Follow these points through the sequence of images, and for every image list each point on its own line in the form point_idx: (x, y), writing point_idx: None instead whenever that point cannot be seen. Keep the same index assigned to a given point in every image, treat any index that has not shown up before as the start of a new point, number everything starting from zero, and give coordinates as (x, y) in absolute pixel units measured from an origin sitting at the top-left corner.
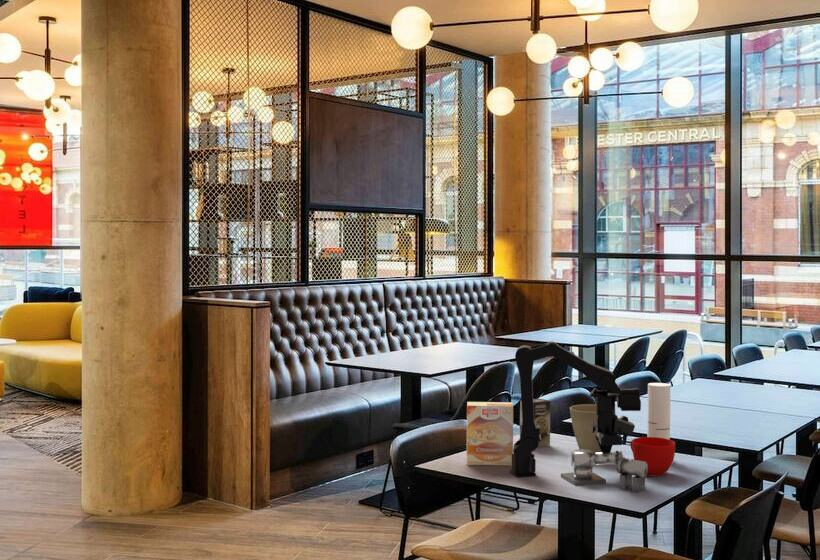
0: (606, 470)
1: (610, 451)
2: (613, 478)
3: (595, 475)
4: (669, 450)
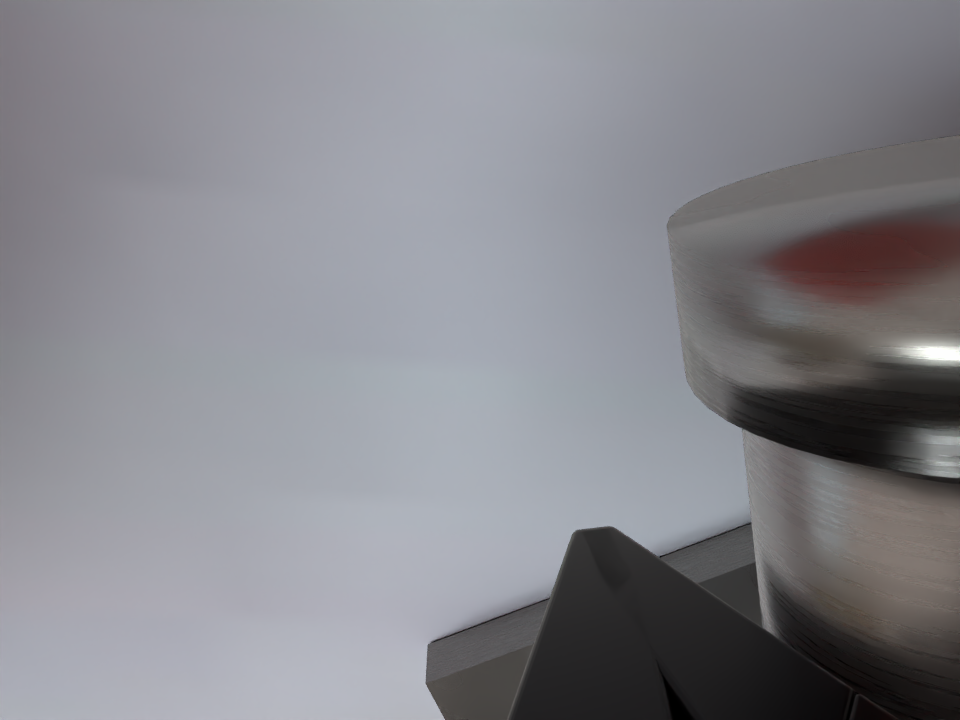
0: (50, 361)
1: (863, 701)
2: (659, 275)
3: None
4: None
